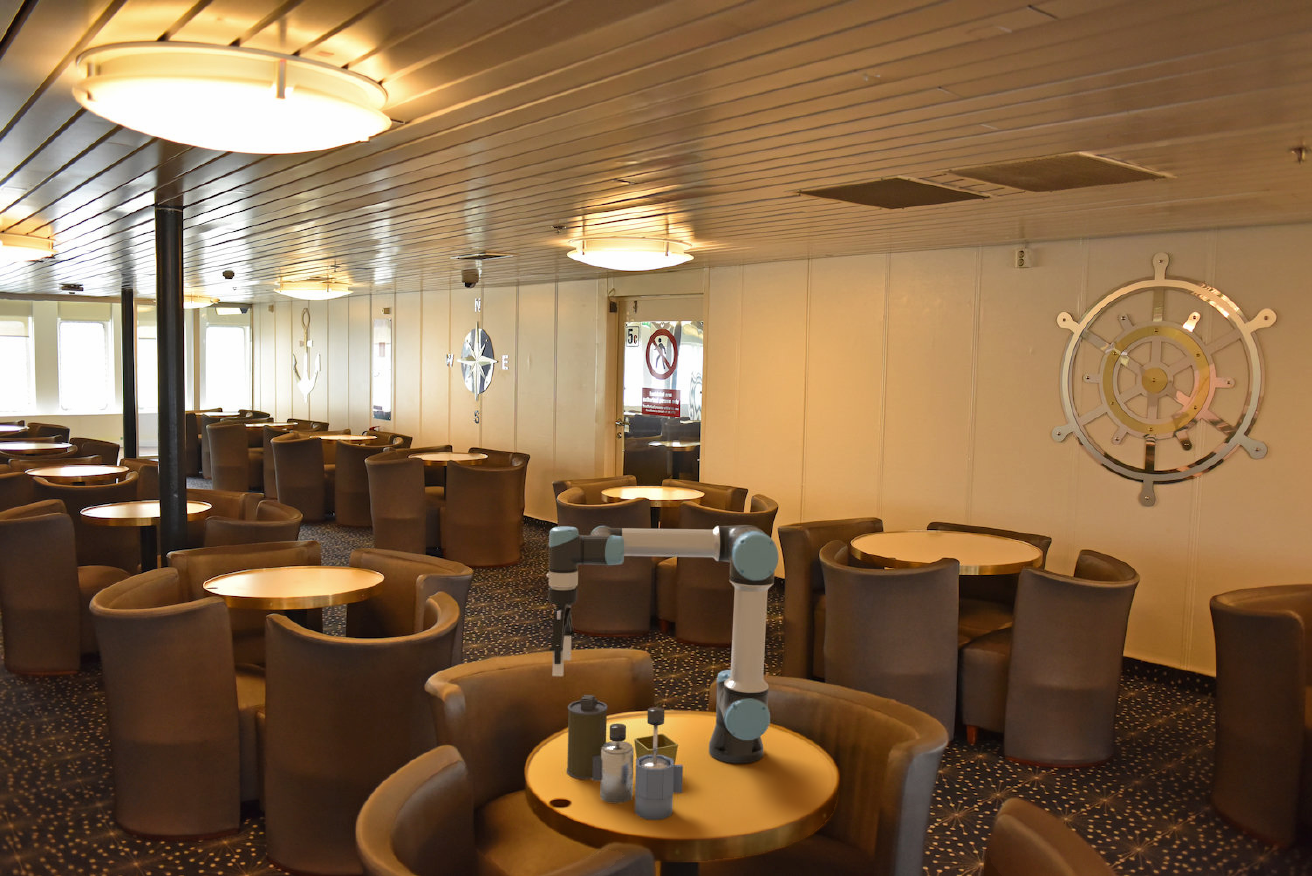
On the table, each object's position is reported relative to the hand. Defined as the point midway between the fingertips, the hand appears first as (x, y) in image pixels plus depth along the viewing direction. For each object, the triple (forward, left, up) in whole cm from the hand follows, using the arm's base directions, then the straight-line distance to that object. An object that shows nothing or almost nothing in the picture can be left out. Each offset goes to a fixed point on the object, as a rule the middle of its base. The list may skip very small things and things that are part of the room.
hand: (561, 667), depth 245 cm
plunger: (-24, +22, -17) cm, 36 cm away
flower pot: (-25, +1, -28) cm, 38 cm away
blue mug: (-25, +22, -28) cm, 43 cm away
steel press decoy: (-15, +14, -28) cm, 34 cm away
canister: (-7, -1, -28) cm, 29 cm away
